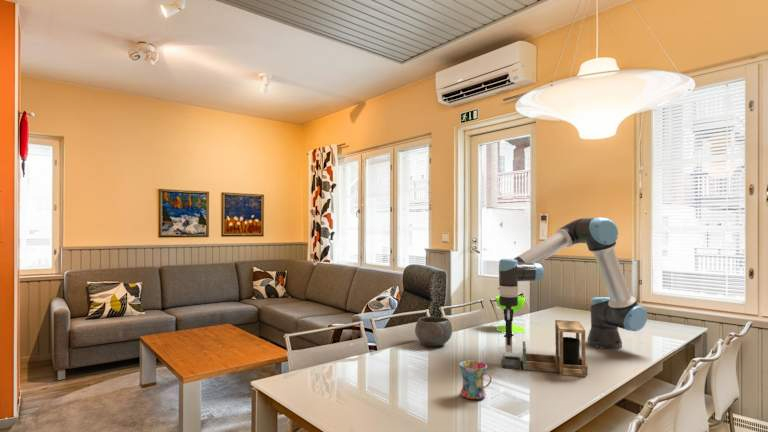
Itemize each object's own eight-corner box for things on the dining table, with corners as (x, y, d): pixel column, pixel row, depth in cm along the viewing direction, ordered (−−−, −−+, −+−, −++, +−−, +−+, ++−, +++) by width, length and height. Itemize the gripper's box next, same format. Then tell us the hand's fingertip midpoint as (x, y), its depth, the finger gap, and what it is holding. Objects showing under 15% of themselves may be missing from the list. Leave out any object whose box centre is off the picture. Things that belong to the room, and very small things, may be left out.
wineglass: (494, 326, 248) (494, 295, 248) (522, 327, 245) (522, 295, 246) (497, 333, 232) (497, 299, 232) (528, 334, 230) (527, 300, 230)
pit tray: (520, 360, 184) (520, 357, 184) (520, 369, 172) (520, 365, 172) (503, 359, 186) (503, 355, 186) (502, 367, 174) (502, 364, 174)
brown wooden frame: (579, 364, 179) (578, 321, 180) (585, 377, 164) (585, 330, 164) (555, 362, 182) (555, 320, 182) (559, 374, 166) (559, 328, 167)
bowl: (410, 347, 204) (410, 321, 204) (421, 338, 220) (421, 313, 221) (447, 351, 197) (447, 324, 197) (455, 342, 214) (455, 316, 214)
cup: (579, 367, 175) (579, 337, 175) (581, 373, 168) (581, 342, 168) (559, 365, 178) (558, 336, 178) (560, 371, 170) (559, 340, 171)
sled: (582, 365, 177) (582, 345, 177) (587, 374, 165) (587, 353, 166) (522, 360, 184) (522, 341, 184) (523, 368, 172) (523, 348, 172)
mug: (453, 395, 146) (453, 364, 146) (470, 388, 152) (470, 358, 152) (482, 406, 136) (482, 373, 137) (499, 399, 142) (499, 367, 143)
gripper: (499, 293, 188) (499, 347, 187) (498, 297, 175) (499, 355, 174) (517, 293, 185) (517, 348, 185) (517, 298, 173) (518, 357, 172)
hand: (508, 352), depth 180 cm, fingers closed
